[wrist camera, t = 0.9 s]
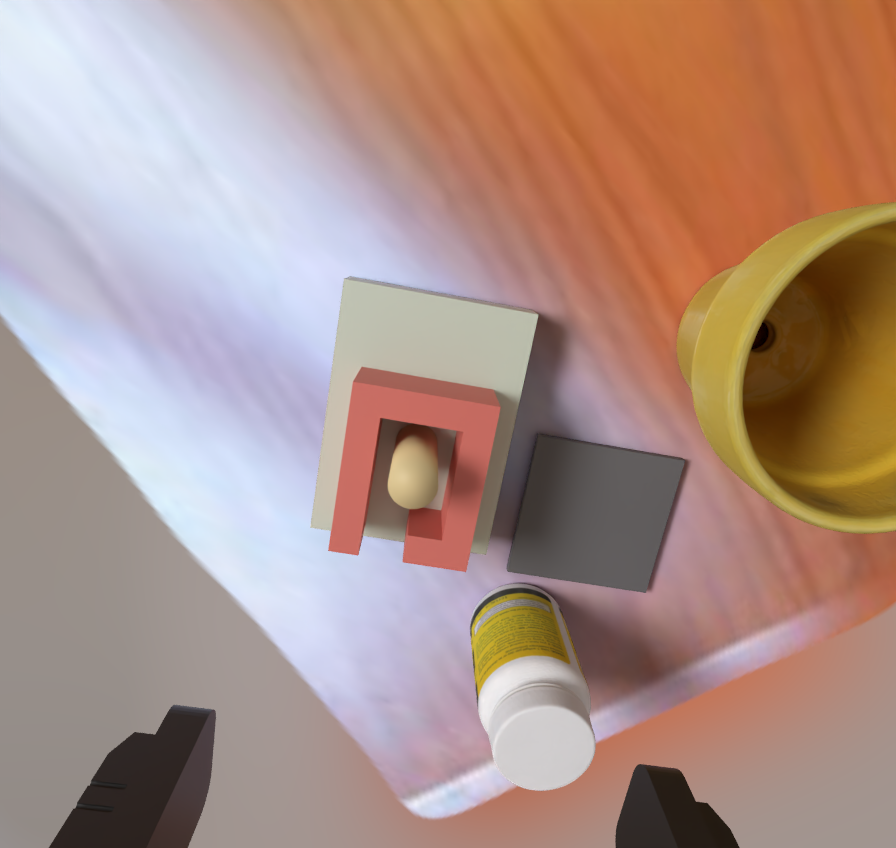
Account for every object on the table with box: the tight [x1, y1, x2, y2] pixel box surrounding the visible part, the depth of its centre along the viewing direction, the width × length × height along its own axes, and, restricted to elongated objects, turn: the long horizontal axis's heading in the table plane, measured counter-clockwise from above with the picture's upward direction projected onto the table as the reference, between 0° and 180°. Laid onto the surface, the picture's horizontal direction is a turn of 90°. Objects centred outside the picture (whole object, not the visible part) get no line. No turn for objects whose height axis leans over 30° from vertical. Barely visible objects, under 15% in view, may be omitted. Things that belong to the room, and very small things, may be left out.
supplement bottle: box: [470, 583, 595, 791], centre depth 28 cm, size 5×5×8 cm
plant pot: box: [677, 202, 896, 534], centre depth 24 cm, size 10×10×10 cm
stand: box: [310, 276, 538, 555], centre depth 26 cm, size 11×8×7 cm
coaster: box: [507, 434, 685, 593], centre depth 30 cm, size 7×7×1 cm
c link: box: [328, 367, 501, 572], centre depth 26 cm, size 7×6×3 cm
